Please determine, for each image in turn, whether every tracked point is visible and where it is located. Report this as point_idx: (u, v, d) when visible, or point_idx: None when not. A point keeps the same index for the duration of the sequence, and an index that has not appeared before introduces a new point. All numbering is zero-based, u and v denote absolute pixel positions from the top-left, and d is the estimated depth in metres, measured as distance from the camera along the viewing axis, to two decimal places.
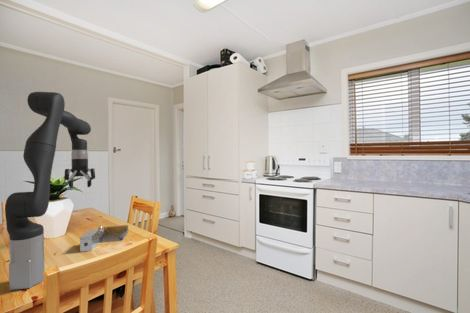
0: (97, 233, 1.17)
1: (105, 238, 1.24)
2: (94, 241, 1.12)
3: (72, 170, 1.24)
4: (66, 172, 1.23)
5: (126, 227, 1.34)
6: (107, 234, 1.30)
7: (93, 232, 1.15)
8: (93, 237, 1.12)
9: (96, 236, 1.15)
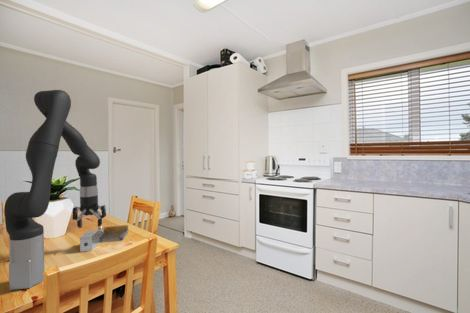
0: (97, 233, 1.17)
1: (105, 238, 1.24)
2: (94, 241, 1.12)
3: (81, 209, 1.12)
4: (74, 211, 1.11)
5: (126, 227, 1.34)
6: (107, 234, 1.30)
7: (93, 232, 1.15)
8: (93, 237, 1.12)
9: (96, 236, 1.15)
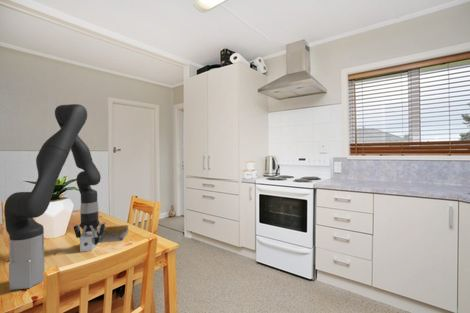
0: None
1: (105, 238, 1.24)
2: (94, 240, 1.12)
3: (81, 226, 1.12)
4: (76, 229, 1.11)
5: (126, 227, 1.34)
6: (107, 234, 1.30)
7: None
8: (93, 237, 1.12)
9: None
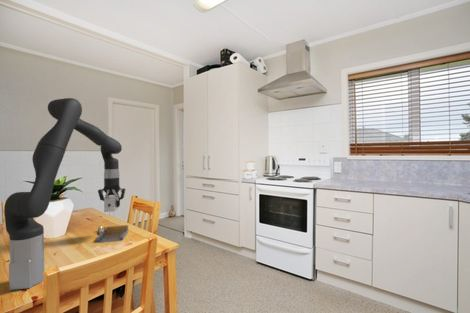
0: None
1: (105, 238, 1.24)
2: None
3: (104, 190, 1.25)
4: (100, 193, 1.25)
5: (126, 227, 1.34)
6: (107, 234, 1.30)
7: None
8: (115, 199, 1.25)
9: None
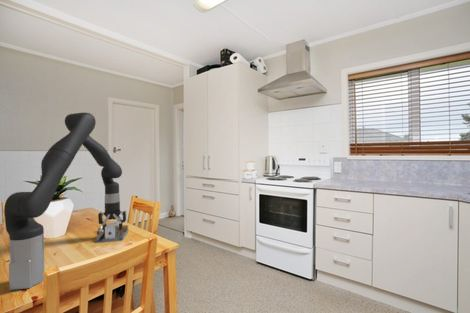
0: (118, 224, 1.31)
1: None
2: (116, 230, 1.26)
3: (105, 214, 1.26)
4: (100, 216, 1.25)
5: (126, 227, 1.34)
6: None
7: (115, 223, 1.29)
8: (116, 227, 1.25)
9: (118, 227, 1.29)
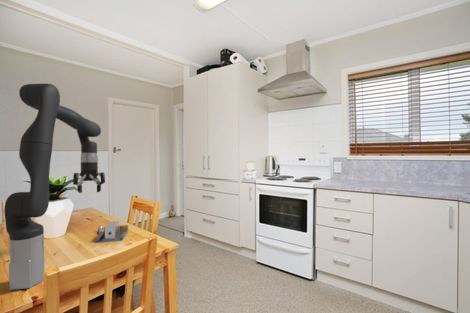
0: (118, 224, 1.31)
1: None
2: (116, 230, 1.26)
3: (81, 174, 1.17)
4: (75, 176, 1.17)
5: (126, 227, 1.34)
6: None
7: (115, 223, 1.29)
8: (116, 227, 1.25)
9: (118, 227, 1.29)
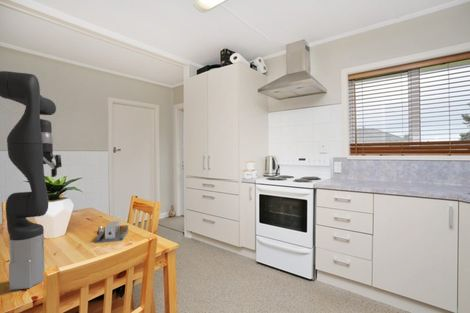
0: (118, 224, 1.31)
1: None
2: (116, 230, 1.26)
3: None
4: None
5: (126, 227, 1.34)
6: None
7: (115, 223, 1.29)
8: (116, 227, 1.25)
9: (118, 227, 1.29)
